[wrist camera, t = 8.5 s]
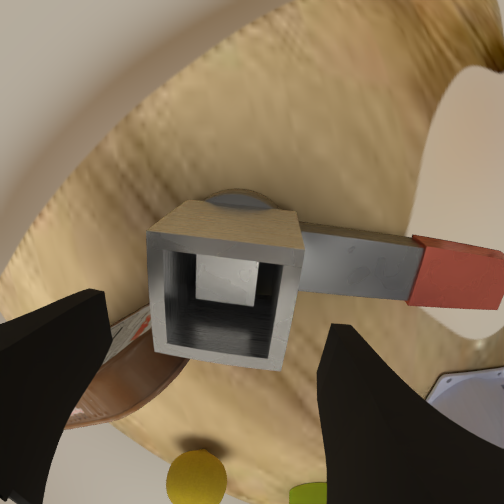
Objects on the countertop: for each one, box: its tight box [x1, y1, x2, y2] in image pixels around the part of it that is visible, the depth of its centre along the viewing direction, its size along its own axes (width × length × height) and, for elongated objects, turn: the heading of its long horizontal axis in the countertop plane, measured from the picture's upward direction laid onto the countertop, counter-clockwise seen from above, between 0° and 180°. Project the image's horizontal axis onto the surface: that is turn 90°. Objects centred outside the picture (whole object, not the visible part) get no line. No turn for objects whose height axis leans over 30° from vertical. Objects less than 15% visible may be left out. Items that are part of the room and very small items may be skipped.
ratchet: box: [196, 189, 504, 310], centre depth 14 cm, size 21×6×4 cm, turn 85°
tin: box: [64, 303, 190, 430], centre depth 16 cm, size 15×3×8 cm, turn 123°
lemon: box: [166, 449, 227, 504], centre depth 21 cm, size 6×6×8 cm
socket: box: [146, 200, 305, 371], centre depth 13 cm, size 5×5×5 cm
